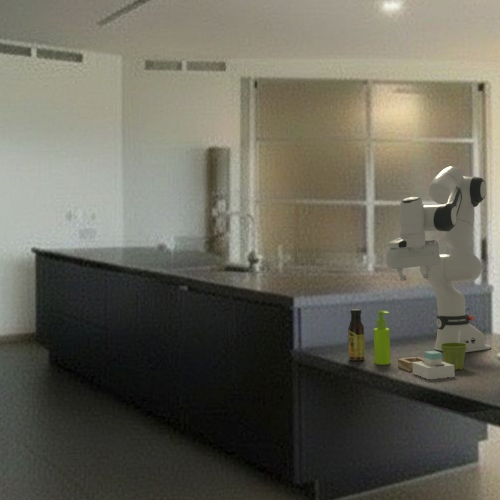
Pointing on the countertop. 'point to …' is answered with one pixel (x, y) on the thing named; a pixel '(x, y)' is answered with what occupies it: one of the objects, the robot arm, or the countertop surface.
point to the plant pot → (454, 354)
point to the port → (433, 370)
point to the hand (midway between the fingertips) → (414, 279)
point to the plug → (432, 358)
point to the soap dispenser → (381, 341)
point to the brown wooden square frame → (408, 363)
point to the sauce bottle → (356, 336)
